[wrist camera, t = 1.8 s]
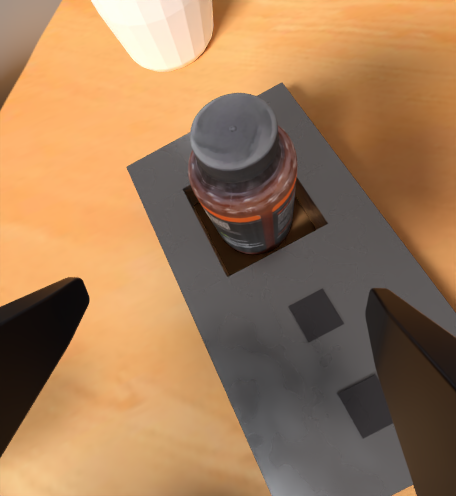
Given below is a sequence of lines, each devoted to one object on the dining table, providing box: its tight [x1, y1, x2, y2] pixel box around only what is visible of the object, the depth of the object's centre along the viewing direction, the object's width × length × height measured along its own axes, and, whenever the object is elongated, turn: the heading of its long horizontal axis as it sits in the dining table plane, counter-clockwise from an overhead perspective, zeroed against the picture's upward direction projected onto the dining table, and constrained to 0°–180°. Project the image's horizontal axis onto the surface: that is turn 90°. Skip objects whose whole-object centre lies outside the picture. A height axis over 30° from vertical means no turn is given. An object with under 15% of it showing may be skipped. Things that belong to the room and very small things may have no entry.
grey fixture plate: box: [127, 83, 456, 496], centre depth 20 cm, size 26×14×3 cm, turn 27°
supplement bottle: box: [188, 93, 297, 254], centre depth 18 cm, size 6×6×11 cm
